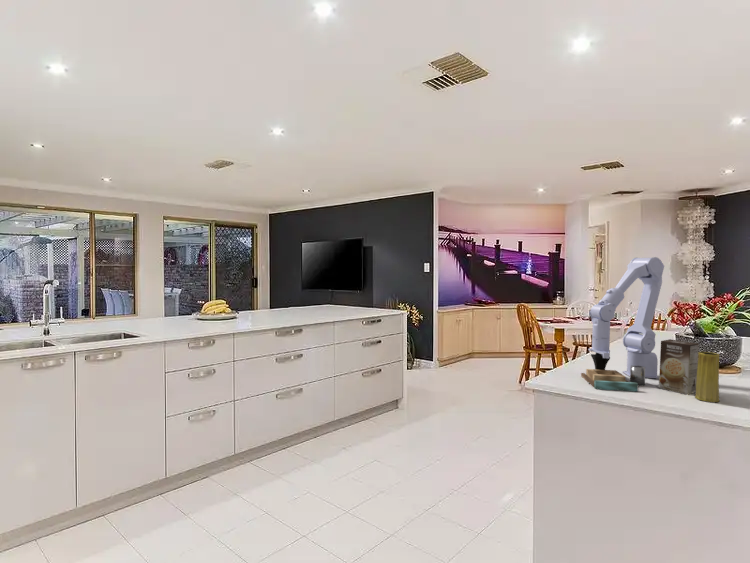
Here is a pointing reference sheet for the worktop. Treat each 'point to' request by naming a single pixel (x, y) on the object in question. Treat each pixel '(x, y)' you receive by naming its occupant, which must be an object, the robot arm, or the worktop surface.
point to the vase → (707, 377)
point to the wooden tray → (605, 375)
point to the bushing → (637, 374)
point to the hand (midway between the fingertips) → (599, 374)
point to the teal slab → (611, 384)
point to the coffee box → (678, 366)
